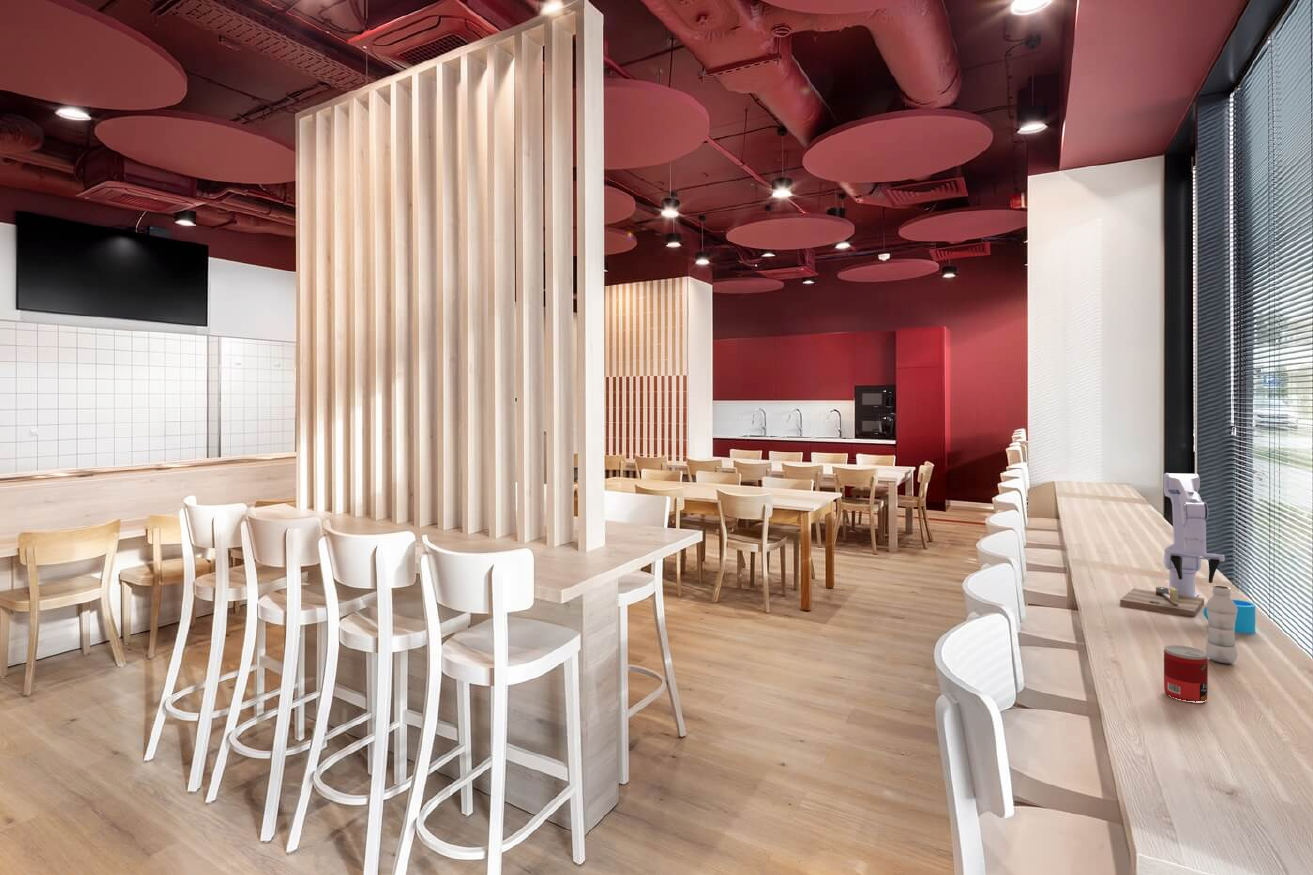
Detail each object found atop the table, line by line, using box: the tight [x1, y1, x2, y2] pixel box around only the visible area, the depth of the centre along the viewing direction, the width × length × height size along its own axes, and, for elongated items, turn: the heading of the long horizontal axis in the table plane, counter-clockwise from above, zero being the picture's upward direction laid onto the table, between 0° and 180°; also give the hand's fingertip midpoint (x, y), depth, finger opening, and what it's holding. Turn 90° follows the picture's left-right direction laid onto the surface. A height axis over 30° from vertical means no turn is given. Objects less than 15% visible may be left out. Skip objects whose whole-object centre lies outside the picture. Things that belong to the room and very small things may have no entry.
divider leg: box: [1155, 586, 1179, 605], centre depth 225 cm, size 16×4×5 cm, turn 158°
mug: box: [1203, 598, 1256, 635], centre depth 201 cm, size 12×8×8 cm
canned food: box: [1163, 644, 1209, 702], centre depth 154 cm, size 8×8×11 cm
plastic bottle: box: [1205, 585, 1239, 664], centre depth 174 cm, size 6×7×20 cm
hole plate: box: [1119, 588, 1205, 618], centre depth 226 cm, size 20×20×2 cm
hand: (1195, 580), depth 215 cm, fingers open, 7 cm apart
